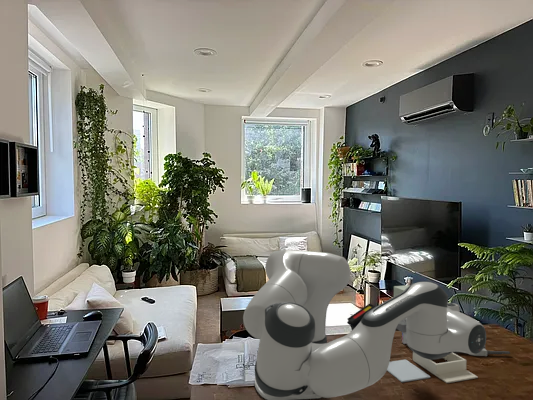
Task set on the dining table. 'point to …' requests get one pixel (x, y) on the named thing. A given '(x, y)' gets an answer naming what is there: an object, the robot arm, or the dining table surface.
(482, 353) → the walkie-talkie
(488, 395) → the dining table surface
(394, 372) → the mat
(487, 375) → the dining table surface
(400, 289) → the box
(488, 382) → the dining table surface
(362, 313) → the magazine
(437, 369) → the carton
